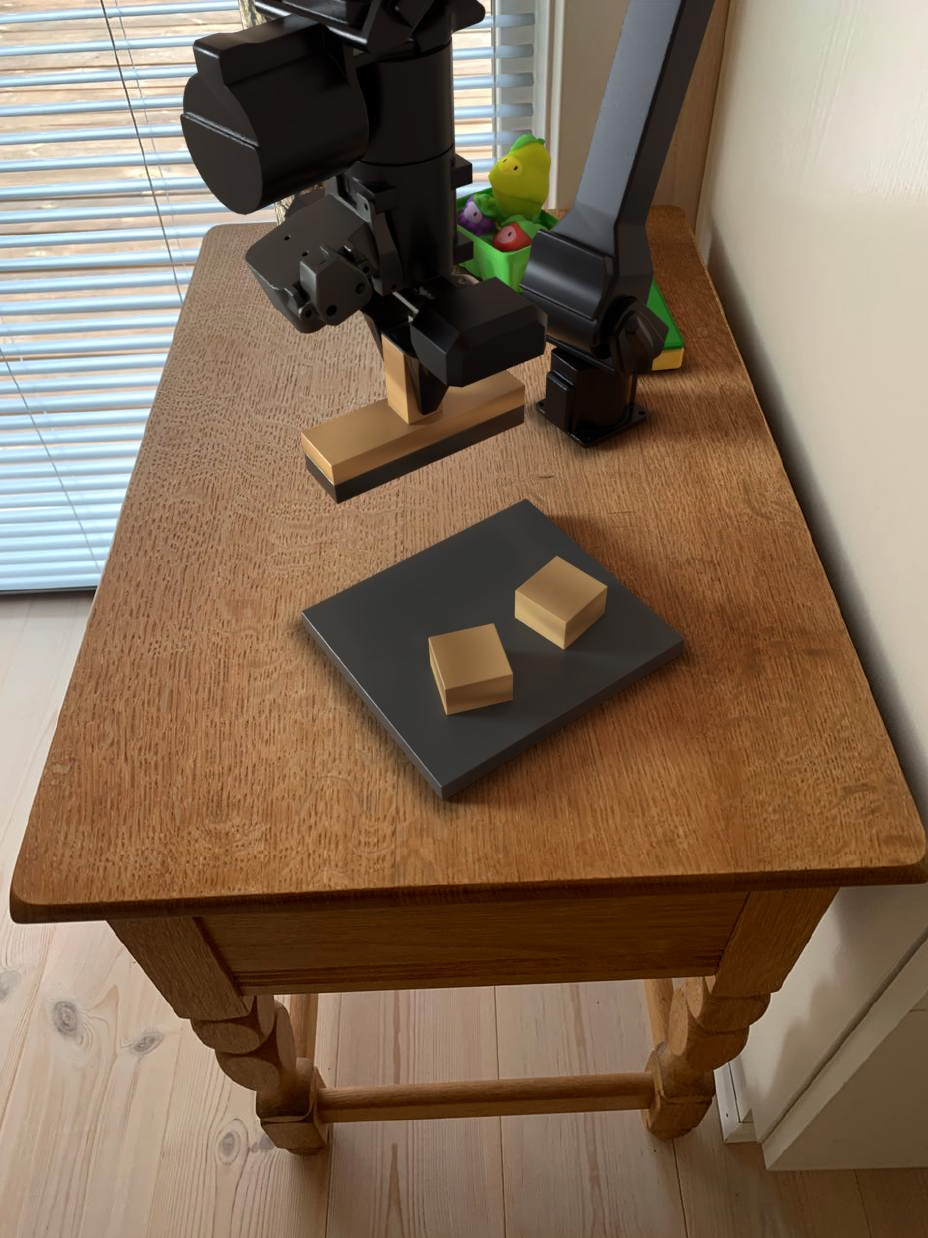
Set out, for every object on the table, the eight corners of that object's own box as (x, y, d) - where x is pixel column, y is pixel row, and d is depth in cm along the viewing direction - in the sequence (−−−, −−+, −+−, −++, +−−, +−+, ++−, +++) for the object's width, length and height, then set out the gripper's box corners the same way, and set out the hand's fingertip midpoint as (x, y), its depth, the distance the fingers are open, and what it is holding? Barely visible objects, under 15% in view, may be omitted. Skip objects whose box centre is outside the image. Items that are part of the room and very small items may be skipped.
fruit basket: (432, 259, 94) (425, 137, 85) (505, 230, 97) (505, 110, 89) (506, 309, 88) (507, 184, 79) (582, 276, 91) (590, 152, 83)
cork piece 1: (494, 649, 60) (493, 622, 58) (513, 700, 57) (513, 673, 56) (430, 663, 59) (428, 637, 58) (446, 716, 57) (444, 689, 55)
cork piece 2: (555, 582, 64) (557, 555, 62) (604, 613, 62) (608, 586, 60) (514, 617, 62) (515, 590, 60) (564, 650, 60) (566, 623, 58)
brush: (490, 393, 67) (489, 285, 61) (524, 423, 65) (527, 314, 59) (306, 469, 62) (287, 360, 56) (337, 505, 60) (320, 395, 54)
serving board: (525, 513, 70) (526, 497, 69) (681, 654, 61) (685, 638, 60) (303, 626, 64) (300, 611, 63) (442, 802, 55) (441, 787, 54)
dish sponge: (597, 377, 81) (599, 351, 79) (565, 288, 90) (566, 263, 88) (682, 369, 81) (686, 343, 79) (641, 281, 90) (644, 257, 88)
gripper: (174, 118, 52) (232, 372, 63) (347, 266, 41) (379, 538, 53) (359, 70, 55) (382, 317, 67) (560, 193, 45) (546, 461, 57)
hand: (415, 400), depth 61 cm, fingers closed on brush, 2 cm apart
